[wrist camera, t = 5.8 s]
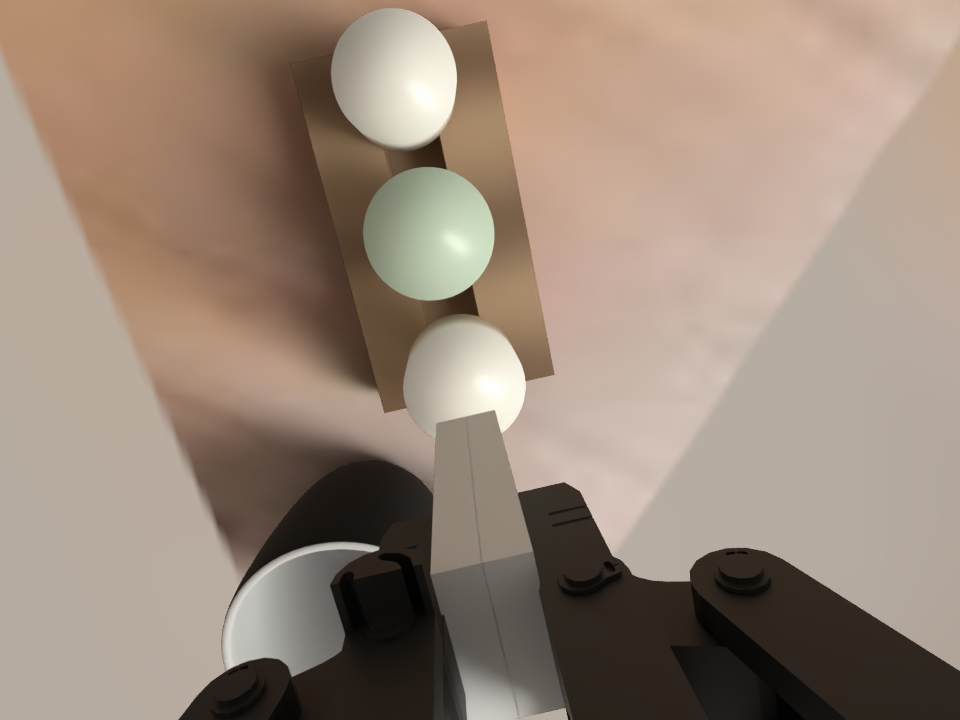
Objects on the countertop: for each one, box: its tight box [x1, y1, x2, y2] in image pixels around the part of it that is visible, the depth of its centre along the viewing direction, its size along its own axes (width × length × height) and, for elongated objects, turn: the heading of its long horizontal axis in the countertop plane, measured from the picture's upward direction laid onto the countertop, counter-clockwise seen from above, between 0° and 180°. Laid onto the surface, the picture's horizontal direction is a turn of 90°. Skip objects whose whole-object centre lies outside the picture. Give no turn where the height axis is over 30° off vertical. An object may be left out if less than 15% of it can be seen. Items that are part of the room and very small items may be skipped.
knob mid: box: [363, 167, 494, 301], centre depth 23 cm, size 4×4×5 cm
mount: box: [290, 21, 554, 413], centre depth 27 cm, size 15×8×3 cm, turn 12°
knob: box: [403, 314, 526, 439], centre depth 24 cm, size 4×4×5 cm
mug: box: [221, 461, 433, 677], centre depth 27 cm, size 12×9×10 cm
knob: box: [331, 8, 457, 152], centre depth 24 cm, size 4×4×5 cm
